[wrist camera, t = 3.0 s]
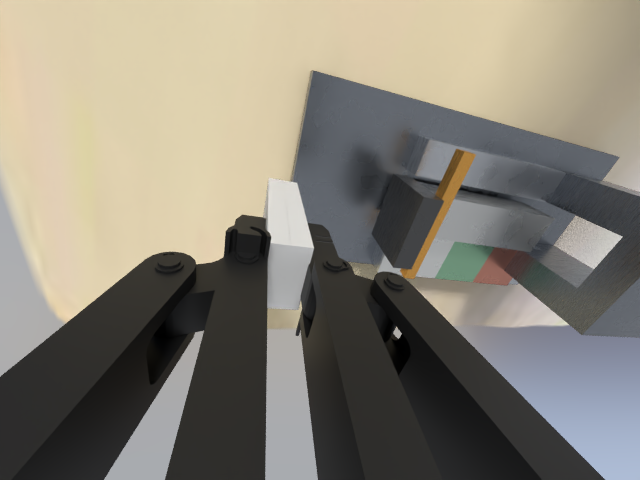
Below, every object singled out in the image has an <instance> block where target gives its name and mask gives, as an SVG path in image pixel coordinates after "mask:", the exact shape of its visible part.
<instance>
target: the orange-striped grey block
mask: <svg viewBox="0 0 640 480" xmlns="http://www.w3.org/2000/svg"><path fill="white" fill-rule="evenodd" d="M475 156H476V154H474V153H471V152H468V151H464V150H460V149H456V150H455V152H454V155H453V157H452V159H451V161H450V163H449V165H448V168H447V170H446V172H445V174H444V176H443V178H442V181H441V183H440V185H439V186H438V185H433V184H428V183H423V182H418V181H416V180H414V179H413V178H411V177H409V176H404V175H399V174H394V173H393V176H392V179H391V182H390V184H389V187H388V190H387V193H386V195H385V198H384V201H383V203H382V206H381V209H380V212H379V214H378V217H377V220H376V223H375V225H374V228H373V231H372V233H371V234H372V236H373V237H374V239H375V240H376V242H377V243H378V245H379V247H380V248H381V250H382V251H383V253H384V254H385V256H386V257H387V259H388V261H389V262H390V264H391V265H392V267H393V268H401V270H400V272H401V274H402V275H403V277H404V278H411V279H414V278H415V276H416V274H417V272H418V270H419V268H420V266H421V264H422V262H423V260H424V258H425V256H426V254H427V252H428V250H429V248H430V246H431V244H432V242H433V240H434V239H441V240H448V241H455V242H463V243H470V244H477V245H484V246H491V247H498V248H505V249H512V250H519V251H526V252H531V251H532V249H533V248H534V247H535V245H536V244H537V242H538V241H539V240H540V238H541V237H542V236H543V234H544V233H545V231H546V230H547V229H548V227H549V226H550V224H551V223H552V222H553V220H554V219H555V218H553V217H551V216H549V215H547V214H545V213H543V212H541V211H539V210H537V209H535V208H533V207H531V206H529V205H527V204H525V203H523V202H519V201H514V200H509V199H503V198H498V197H493V196H488V195H483V194H478V193H473V192H468V191H463V190H459V188H460V186H461V184H462V182H463V180H464V178H465V176H466V174H467V172H468V170H469V168H470V166H471V164H472V162H473V160H474V158H475Z"/></svg>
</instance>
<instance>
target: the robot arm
mask: <svg viewBox="0 0 640 480" xmlns="http://www.w3.org/2000/svg"><path fill="white" fill-rule="evenodd" d="M300 301H301V303H302V311H301V315H300V319H299V323H298V326H297V330H296V336H298V335H299V333H300V330H301V336H302V345H303V354H304V363H305V372H306V380H307V388H308V397H309V406H310V414H311V423H312V432H313V440H314V449H315V458H316V466H317V474H318V480H605V479H604V478H603V477H602V476H601V475H600V474H599V473H598V472H597V471H596V470H595V469H594V468H593V467H592V466H591V465H590V464H589V463H588V462H587V461H586V460H585V459H584V458H583V457H582V456H581V455H580V454H579V453H578V452H577V451H576V450H575V449H574V448H573V447H572V446H571V445H570V444H569V443H568V442H567V441H566V440H565V439H564V438H563V437H562V436H561V435H560V434H559V433H558V432H557V431H556V430H555V429H554V428H553V427H552V426H551V425H550V424H549V423H548V422H547V421H546V420H545V419H544V418H543V417H542V416H541V415H540V414H539V413H538V412H537V411H536V410H535V409H534V408H533V407H532V406H531V405H530V404H529V403H528V402H527V401H526V400H525V399H524V398H523V396H522V395H521V394H520V393H518V392H517V390H516V389H515V388H514V387H513V386H512V385H511V384H510V383H509V382H507V380H506V379H505V378H504V377H503V376H502V375H501V374H500V373H499V372H498V371H497V370H496V369H495V368H494V367H493V366H492V365H491V364H490V363H489V362H488V361H487V360H486V359H485V358H484V357H483V356H482V355H481V354H480V353H479V352H478V351H477V350H476V349H475V348H474V347H473V346H472V345H471V344H470V343H469V342H468V341H467V340H466V339H465V338H464V337H463V336H462V335H461V334H460V333H459V332H458V331H457V330H456V329H455V328H454V327H453V326H452V325H451V324H450V323H449V322H448V321H447V320H446V319H445V318H444V317H443V316H442V315H441V314H440V313H439V312H438V311H437V310H436V309H435V308H434V307H433V306H432V305H431V304H430V303H429V302H428V301H427V300H426V299H425V298H424V297H423V296H422V295H421V294H420V293H419V292H418V291H417V290H416V289H415V288H414V287H413V286H412V285H411V284H410V283H409V282H408V281H407V280H406V279H405V278H403V277H401V276H399V275H398V274H396V273H392V272H384V271H383V272H379V273H377V274H376V275H375V278H374V280H370V279H367V278H363V277H360V276H358V275H355V274H354V272H353V269H352V267H351V266H350V264H349V263H348V262H346V261H345V260H344V259H342V258H339V256H338V254H337V251H336V249H335V246H334V243H333V241H332V238H331V236H330V233H329V231H328V230H327V229H326V228H325V227H324V226H323V225H319V224H312V223H307V219H306V215H305V211H304V207H303V204H302V200H301V196H300V192H299V188H298V184H297V183H295V182H290V181H284V180H278V179H272V178H269V180H268V187H267V194H266V201H265V208H264V215H263V218H262V217H255V216H247V215H241V216H240V217H239V218H237V219H236V221H235V225H234V226H232V227H229V228H228V229H227V231H226V236H225V251H224V257H223V258H222V259H220V260H218V261H215V262H212V263H206V264H197V265H196V262H195V260H194V259H193V258H192V257H191V256H189V255H187V254H184V253H179V252H163V253H159V254H156V255H152V256H151V257H149V258H147V259H145V260H144V261H143V262H142V263H140V264H139V265H138V266H137V267H135V268H134V269H133V270H132V271H130V272H129V273H128V274H127V275H126V276H124V277H123V278H122V279H121V280H119V281H118V282H117V283H116V284H114V285H113V286H112V287H111V288H109V289H108V290H107V291H106V292H105V293H103V294H102V295H101V296H100V297H98V298H97V299H96V300H95V301H93V302H92V303H91V304H90V305H88V306H87V307H86V308H85V309H83V310H82V311H81V312H80V313H79V314H77V315H76V316H75V317H74V318H72V319H71V320H70V321H69V322H67V323H66V324H65V325H64V326H62V327H61V328H60V329H59V330H58V331H56V332H55V333H54V334H53V335H51V336H50V337H49V338H48V339H46V340H45V341H44V342H43V343H42V344H40V345H39V346H38V347H36V348H35V349H34V350H33V351H32V352H30V353H29V354H28V355H27V356H25V357H24V358H23V359H22V360H20V361H19V362H18V363H17V364H16V365H14V366H13V367H12V368H11V369H9V370H8V371H7V372H6V373H4V374H3V375H2V376H1V377H0V480H104V478H105V477H106V475H107V474H108V472H109V470H110V469H111V467H112V466H113V464H114V462H115V460H116V459H117V458H118V456H119V454H120V453H121V451H122V450H123V448H124V447H125V445H126V443H127V442H128V440H129V439H130V437H131V436H132V434H133V432H134V431H135V429H136V428H137V426H138V424H139V423H140V421H141V420H142V418H143V416H144V415H145V413H146V412H147V410H148V408H149V407H150V405H151V404H152V402H153V401H154V399H155V397H156V396H157V394H158V393H159V391H160V389H161V388H162V386H163V384H164V383H165V381H166V380H167V378H168V377H169V375H170V374H171V372H172V370H173V369H174V367H175V366H176V364H177V362H178V361H179V359H180V358H181V356H182V354H183V353H184V351H185V350H186V348H187V346H188V345H189V343H190V342H191V340H192V339H193V337H194V334H195V332H198V331H203V330H204V334H203V338H202V341H201V345H200V349H199V353H198V357H197V360H196V364H195V368H194V372H193V376H192V380H191V383H190V387H189V391H188V395H187V398H186V402H185V406H184V410H183V414H182V418H181V421H180V425H179V429H178V433H177V436H176V440H175V444H174V448H173V452H172V455H171V459H170V463H169V467H168V471H167V474H166V478H165V480H265V447H266V445H265V444H266V442H265V441H266V366H267V365H266V364H267V308H273V309H292V310H298V309H299V305H300ZM396 326H397V328H398V329H399V330H400V332H401V333H402V335H401V337H400V338H399V339H398V338H397V337H395V335H394V334H393V331H394V330H395V328H396Z"/></svg>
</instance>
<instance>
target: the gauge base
mask: <svg viewBox="0 0 640 480" xmlns="http://www.w3.org/2000/svg"><path fill="white" fill-rule="evenodd" d="M456 149H460V150H464V151H468V152H471V153H474V154H476V156H475V158H474V160H473V162H472V164H471V166H470V168H469V170H468V172H467V174H466V176H465V178H464V180H463V182H462V184H461V186H460V188H459V190H463V191H468V192H473V193H478V194H483V195H488V196H493V197H498V198H503V199H509V200H514V201H519V202H523V203H525V204H527V205H529V206H531V207H533V208H535V209H537V210H539V211H541V212H543V213H545V214H547V215H549V216H551V217H553V218H555V219H554V220H553V222H552V223H551V224H550V226H549V227H548V229H547V230H546V231H545V233H544V234H543V236H542V237H541V238H540V240H539V241H538V242H537V244H536V245H535V247H534V248H533V249H532V251H531V252H526V251H519V250H512V249H505V248H498V247H491V246H484V245H477V244H470V243H463V242H455V241H448V240H441V239H434V240H433V242H432V244H431V246H430V248H429V250H428V252H427V254H426V256H425V258H424V260H423V262H422V264H421V266H420V268H419V270H418V272H417V274H416V277H427V278H437V279H447V280H457V281H467V282H477V283H487V284H497V285H508V284H516V285H517V284H518V283H520V284H521V285H522V286H523V287H524V288H526V289H527V290H528V291H529V292H530V293H532V294H533V295H534V296H535V297H537V298H538V299H539V300H540V301H541V302H543V303H544V304H545V305H546V306H547V307H549V308H550V309H551V310H552V311H553V312H555V313H556V314H557V315H558V316H559V317H561V318H562V319H563V320H564V321H566V322H567V323H568V324H569V325H570V326H572V327H573V328H574V329H575V330H576V331H578V332H579V333H580V334H581V335H592V336H615V337H636V338H640V192H638V191H635V190H631V189H628V188H625V187H622V186H618V185H615V184H612V183H609V182H605V181H602V180H603V178H604V177H605V176H606V174H607V173H608V172H609V171H610V169H611V168H612V167H613V165H614V164H615V163H616V161H617V160H618V159H619V157H617V156H614V155H610V154H607V153H603V152H600V151H596V150H593V149H589V148H585V147H582V146H578V145H575V144H571V143H568V142H564V141H561V140H557V139H554V138H550V137H547V136H543V135H539V134H536V133H532V132H529V131H525V130H522V129H518V128H515V127H511V126H508V125H504V124H501V123H497V122H494V121H490V120H486V119H483V118H479V117H476V116H472V115H469V114H465V113H462V112H458V111H455V110H451V109H448V108H444V107H440V106H437V105H433V104H430V103H426V102H423V101H419V100H416V99H412V98H409V97H405V96H402V95H398V94H395V93H391V92H387V91H384V90H380V89H377V88H373V87H370V86H366V85H363V84H359V83H356V82H352V81H349V80H345V79H342V78H338V77H334V76H331V75H327V74H324V73H320V72H317V71H311V74H310V80H309V85H308V91H307V96H306V102H305V107H304V113H303V118H302V123H301V129H300V134H299V140H298V145H297V151H296V156H295V162H294V167H293V173H292V178H291V182H295V183H297V184H298V188H299V192H300V196H301V200H302V204H303V207H304V211H305V215H306V219H307V223H312V224H319V225H323V226H324V227H325V228H326V229H327V230H328V231H329V233H330V236H331V238H332V241H333V243H334V246H335V249H336V251H337V254H338V256H339V258H342V259H344V260H345V261H348V262H357V263H367V264H373V265H374V267H375V269H376V271H377V273H379V272H383V271H384V272H392V273H396V274H398V275H402V274H401V272H400V270H401V268H393V267H392V265H391V264H390V262H389V261H388V259H387V257H386V256H385V254H384V253H383V251H382V250H381V248H380V247H379V245H378V243H377V242H376V240H375V239H374V237H373V236H372V234H371V233H372V231H373V228H374V225H375V223H376V220H377V217H378V214H379V212H380V209H381V206H382V203H383V201H384V198H385V195H386V193H387V190H388V187H389V184H390V182H391V179H392V176H393V173H394V174H399V175H404V176H409V177H411V178H413V179H414V180H416V181H418V182H423V183H428V184H433V185H438V186H439V185H440V183H441V181H442V178H443V176H444V174H445V172H446V170H447V168H448V165H449V163H450V161H451V159H452V157H453V155H454V152H455V150H456ZM575 215H576V216H578V217H581V218H583V219H585V220H587V221H590V222H592V223H594V224H596V225H598V226H601V227H603V228H605V229H607V230H610V231H612V232H614V233H616V234H618V235H621V236H623V238H622V239H621V240H620V241H619V242H618V243H617V244H616V245H615V247H614V248H613V249H612V250H611V251H610V252H609V253H608V254H607V256H606V257H605V258H604V259H603V260H602V261H601V262H600V263H599V265H598V266H597V267H596V268H595V269H592V268H590V267H589V266H587V265H585V264H584V263H582V262H580V261H579V260H577V259H575V258H573V257H572V256H570V255H568V254H567V253H565V252H563V251H562V250H560V249H558V248H557V247H555V246H553V245H554V243H555V242H556V241H557V239H558V238H559V237H560V235H561V234H562V233H563V231H564V230H565V229H566V227H567V226H568V225H569V223H570V222H571V221H572V219H573V218H574V217H575Z"/></svg>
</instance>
